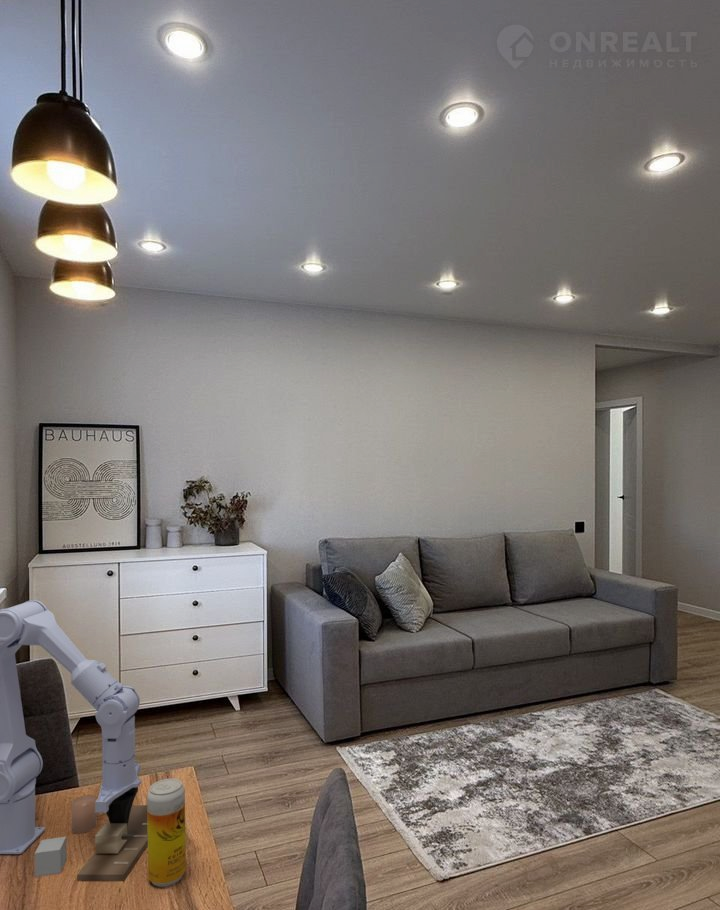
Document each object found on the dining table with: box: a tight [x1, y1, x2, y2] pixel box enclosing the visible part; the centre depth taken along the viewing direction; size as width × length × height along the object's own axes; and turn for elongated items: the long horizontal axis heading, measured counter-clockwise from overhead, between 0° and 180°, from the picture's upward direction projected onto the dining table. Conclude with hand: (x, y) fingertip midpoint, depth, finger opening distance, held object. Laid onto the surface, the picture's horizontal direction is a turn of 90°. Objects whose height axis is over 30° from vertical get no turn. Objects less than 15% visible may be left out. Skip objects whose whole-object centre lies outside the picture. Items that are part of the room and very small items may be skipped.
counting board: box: [76, 804, 148, 882], centre depth 113 cm, size 8×22×1 cm, turn 177°
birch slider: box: [94, 822, 132, 853], centre depth 109 cm, size 6×4×3 cm
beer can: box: [146, 777, 187, 888], centre depth 103 cm, size 6×6×15 cm
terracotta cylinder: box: [70, 794, 97, 835], centre depth 118 cm, size 4×4×5 cm
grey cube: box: [34, 836, 67, 878], centre depth 106 cm, size 4×4×4 cm
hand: (119, 832), depth 113 cm, fingers closed
